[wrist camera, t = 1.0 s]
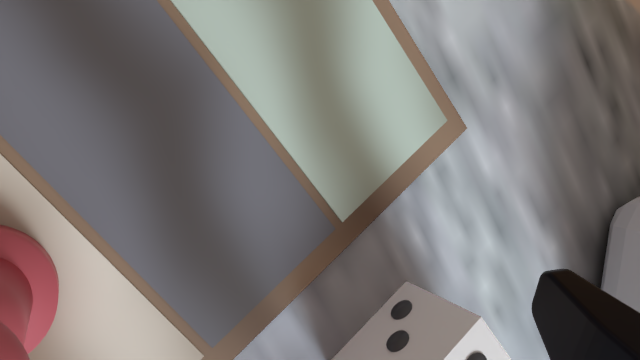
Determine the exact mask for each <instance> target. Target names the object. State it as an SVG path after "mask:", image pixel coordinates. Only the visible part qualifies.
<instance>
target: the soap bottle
mask: <svg viewBox="0 0 640 360" xmlns="http://www.w3.org/2000/svg"><path fill="white" fill-rule="evenodd" d="M601 289H602V290H603V291H605V292H607V293H608V294H610V295H612V296H613V297H615V298H617V299H618V300H620V301H621V302H623V303H625V304H626V305H628V306H630V307H631V308H633V309H635V310H636V311H638V312H639V313H640V196H639V197H637V198H635V199H634V200H632V201H630V202H628V203H627V204H625V205H623V206H622V207H620V208H618V209H617V210H616V212H615V214H614V217H613V219H612V221H611V224H610V229H609V236H608V243H607V249H606V256H605V263H604V269H603V276H602V283H601Z"/></svg>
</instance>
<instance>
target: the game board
mask: <svg viewBox="0 0 640 360" xmlns="http://www.w3.org/2000/svg"><path fill="white" fill-rule="evenodd" d="M466 129H467V127H466V126H465V124H464V122H463V121H462V119H461V117H460V116H459V114H458V112H457V111H456V109H455V108H454V106H453V104H452V103H451V101H450V99H449V98H448V96H447V95H446V93H445V91H444V90H443V88H442V86H441V85H440V83H439V82H438V80H437V78H436V77H435V75H434V73H433V72H432V70H431V68H430V67H429V65H428V64H427V62H426V60H425V59H424V57H423V55H422V54H421V52H420V51H419V49H418V47H417V46H416V44H415V42H414V41H413V39H412V38H411V36H410V34H409V33H408V31H407V29H406V28H405V26H404V24H403V23H402V21H401V20H400V18H399V16H398V15H397V13H396V11H395V10H394V8H393V7H392V5H391V3H390V2H389V0H0V225H4V226H8V227H11V228H14V229H17V230H19V231H21V232H24V233H26V234H27V235H29V236H30V237H32V238H33V239H35V240H36V241H37V242H38V243H39V244H41V246H42V247H43V248H44V249H45V250H46V251H47V252H48V254H49V255H50V257H51V258H52V261H53V263H54V265H55V267H56V270H57V274H58V280H59V295H58V305H57V311H56V315H55V318H54V321H53V323H52V325H51V327H50V329H49V331H48V332H47V334H46V336H45V337H44V338H43V340H42V341H41V342H40V343H39V344H38V345H37V346H36V347H35V348H34V349H33V350H32V351H31V352H30V353H29V354H28V356H29V359H30V360H233V359H234V358H235V357H236V356H237V355H238V354H239V353H240V352H241V351H242V350H243V349H244V348H245V347H246V346H247V345H248V344H249V343H250V342H251V341H252V340H253V339H254V338H255V337H256V336H257V335H258V334H259V333H260V332H261V331H262V330H263V329H264V328H265V327H266V326H267V325H268V324H269V323H270V322H271V321H272V320H273V319H274V318H275V317H276V316H278V315H279V314H280V313H281V312H282V311H283V310H284V309H285V308H286V307H287V306H288V305H289V304H290V303H291V302H292V301H293V300H294V299H295V298H296V297H297V296H298V295H299V294H300V293H301V292H302V291H303V290H304V289H305V288H306V287H307V286H308V285H309V284H310V283H311V282H312V281H313V280H314V279H315V278H316V277H317V276H318V275H319V274H320V273H321V272H322V271H323V270H324V269H325V268H326V267H327V266H328V265H329V264H330V263H331V262H332V261H333V260H334V259H335V258H336V257H337V256H338V255H339V254H340V253H341V252H342V251H343V250H344V249H345V248H346V247H347V246H348V245H349V244H350V243H351V242H352V241H353V240H354V239H355V238H356V237H357V236H358V235H360V234H361V233H362V232H363V231H364V230H365V229H366V228H367V227H368V226H369V225H370V224H371V223H372V222H373V221H374V220H375V219H376V218H377V217H378V216H379V215H380V214H381V213H382V212H383V211H384V210H385V209H386V208H387V207H388V206H389V205H390V204H391V203H392V202H393V201H394V200H395V199H396V198H397V197H398V196H399V195H400V194H401V193H402V192H403V191H404V190H405V189H406V188H407V187H408V186H409V185H410V184H411V183H412V182H413V181H414V180H415V179H416V178H417V177H418V176H419V175H420V174H421V173H422V172H423V171H424V170H425V169H426V168H427V167H428V166H429V165H430V164H431V163H432V162H433V161H434V160H435V159H436V158H437V157H438V156H439V155H440V154H441V153H443V152H444V151H445V150H446V149H447V148H448V147H449V146H450V145H451V144H452V143H453V142H454V141H455V140H456V139H457V138H458V137H459V136H460V135H461V134H462V133H463V132H464V131H465V130H466Z"/></svg>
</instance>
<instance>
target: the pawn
mask: <svg viewBox="0 0 640 360" xmlns="http://www.w3.org/2000/svg"><path fill="white" fill-rule="evenodd" d="M58 295H59V280H58V274H57V270H56V267H55V265H54V263H53V261H52V258H51V257H50V255H49V254H48V252H47V251H46V250H45V249H44V248H43V247H42V246H41V244H39V243H38V242H37V241H36V240H35V239H33V238H32V237H30V236H29V235H27V234H26V233H24V232H21V231H19V230H17V229H14V228H11V227H8V226H4V225H0V360H30V359H29V356H28V354H29V353H30V352H31V351H32V350H33V349H34V348H35V347H36V346H37V345H38V344H39V343H40V342H41V341H42V340H43V338H44V337H45V336H46V334H47V332H48V331H49V329H50V327H51V325H52V323H53V321H54V318H55V315H56V311H57V305H58Z"/></svg>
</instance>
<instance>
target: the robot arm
mask: <svg viewBox="0 0 640 360" xmlns="http://www.w3.org/2000/svg"><path fill="white" fill-rule="evenodd" d="M532 314H533V317H534V320H535V323H536V325H537V328H538V330H539V332H540V335H541V337H542V340H543V342H544V345H545V347H546V350H547V352H548V355H549V357H550V360H640V313H639V312H638V311H636V310H635V309H633V308H631V307H630V306H628V305H626V304H625V303H623V302H621V301H620V300H618V299H617V298H615V297H613V296H612V295H610V294H608V293H607V292H605V291H603V290H602V289H600V288H598V287H597V286H595V285H594V284H592V283H590V282H589V281H587V280H585V279H584V278H582V277H580V276H579V275H577V274H575V273H574V272H572V271H570V270H568V269H557V270H550V271H545V272H544V273H543V274H542V275H541V276H540V279H539V282H538V285H537V289H536V292H535V295H534V298H533V302H532Z"/></svg>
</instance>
